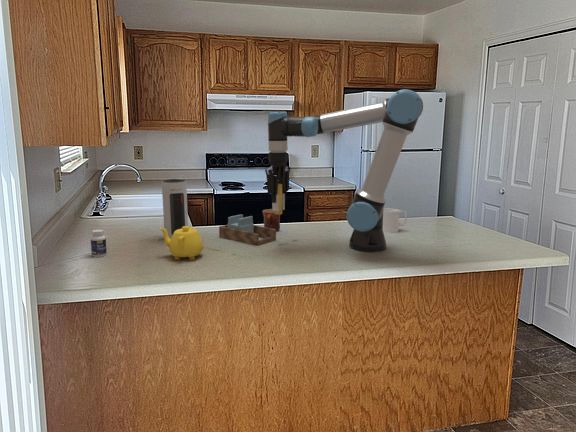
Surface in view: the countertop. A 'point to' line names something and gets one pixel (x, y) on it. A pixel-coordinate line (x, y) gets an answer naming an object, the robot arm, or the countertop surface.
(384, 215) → the cup
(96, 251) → the pill bottle
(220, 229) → the bay
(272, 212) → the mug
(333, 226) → the countertop surface
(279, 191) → the peg
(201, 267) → the countertop surface
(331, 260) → the countertop surface
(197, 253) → the teapot
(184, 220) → the speaker
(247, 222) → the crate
